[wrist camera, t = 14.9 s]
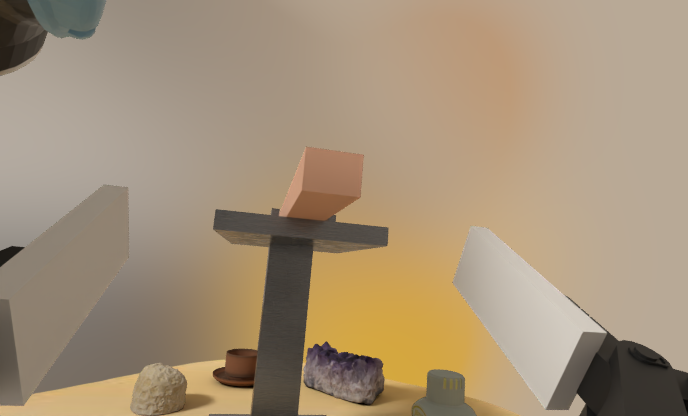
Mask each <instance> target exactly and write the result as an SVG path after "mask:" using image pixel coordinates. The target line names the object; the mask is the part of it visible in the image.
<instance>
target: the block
mask: <svg viewBox="0 0 688 416" xmlns="http://www.w3.org/2000/svg"><path fill="white" fill-rule="evenodd" d="M363 158H364V155H362V154H354V153H347V152H340V151H333V150H326V149H319V148H312V147H306V148H305V151H304V153H303V156H302V158H301V161H300V163H299V166H298V168H297V171H296V173H295V176H294V178H293V181H292V183H291V186H290V188H289V190H288V193H287V195H286V198H285V200H284V203H283V205H282V208H281V210H280V213H279V216H283V217H293V218H302V219H312V220H321V221H325V220H327V219H328V218H330V217H331V216H333V215H334V214H336V213H337V212H339V211H340V210H342V209H344V208H345V207H347V206H348V205H350V204H351V203H353V202H354V201H356V200H357V199H359V198H360V197H361V183H362V171H363Z"/></svg>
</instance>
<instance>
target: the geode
mask: <svg viewBox="0 0 688 416" xmlns="http://www.w3.org/2000/svg"><path fill="white" fill-rule="evenodd" d="M306 360H307V362H306V365H305V367H304V373H305V374H304V383H305V385H306V386H307V387H311V388H314V389H317V390H320V391H322V392H325V393H327V394H329V395H333V396H334V397H336V398H341V399H343V400H348V401H352V402H357V403H364V404H368V405H370V404H372V402H373V401H374V400H375V397H376V396H378V395H379V394H380V393H382V392H383V390H384V376H383V374H382V367H383V363H382V361H381V360H380V359H378V358H371V357H368V356H363V355H361V356H358V355H354V354H352V353H351V354H350V353H348V352H341V353H339V354H338V352H337V350H336V349H335V348H331V347H330V345H329V344H328V342H325V343H324V344H323V345H322V346H319V345H318V344H315V345H314V347H313V348H308V352H307V357H306Z"/></svg>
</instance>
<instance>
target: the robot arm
mask: <svg viewBox="0 0 688 416" xmlns="http://www.w3.org/2000/svg"><path fill="white" fill-rule="evenodd" d="M105 2H106V0H0V76H2V75H5V74H8V73H11V72H14V71H16V70H18V69H20V68H22V67H24V66H26V65H27V64H29V63H30V62H31V61H33V60H34V59H35V58H36V56H37V55H38V54H39V52H40V51H41V49H42V46H43V44H44V41H45V38H46V35H47V32H49V33H51V34H53V35H54V36H56V37H60V38H64V37H69V36H70V37H73V38H76V39H86V38H90V37H91V36H92V35H93V34H94V33H95V29H96V27H97V26H98V24H99V21H100V19H101V16H102V13H103V10H104V6H105ZM128 215H129V214H128V187H119V186H111V185H103V186H102V187H100V188H99V189H98V190H97V191H95V192H94V193H93V194H92V195H90V196H89V197H88V198H87V199H85V200H84V201H83V202H82V203H80V204H79V205H78V206H77V207H75V208H74V209H73V210H72V211H70V212H69V213H68V214H67V215H65V216H64V217H63V218H61V219H60V220H59V221H58V222H56V223H55V224H54V225H53V226H51V227H50V228H49V229H48V230H46V232H44V233H43V234H41V235H40V236H39V237H38V238H36V239H35V240H34V241H33V242H31V243H30V244H29V245H28V246H26V247H15V246H11V247H9V248H6V249H4V250H1V251H0V405H12V406H24V404H25V403H26V402H27V400H28V399H29V397H30V396H31V395H32V393H33V391H34V390H35V389H36V387H37V386H38V384H39V383H40V382H41V380H42V379H43V378H44V376H45V375H46V373H47V372H48V371H49V369H50V367H51V366H52V365H53V363H54V362H55V360H56V359H57V358H58V356H59V355H60V354H61V352H62V351H63V349H64V348H65V346H66V345H67V344H68V342H69V341H70V339H71V338H72V337H73V335H74V334H75V332H76V331H77V330H78V328H79V327H80V325H81V324H82V323H83V321H84V320H85V318H86V317H87V316H88V314H89V313H90V311H91V310H92V308H93V307H94V305H95V304H96V303H97V301H98V300H99V299H100V297H101V296H102V294H103V293H104V291H105V290H106V289H107V287H108V286H109V284H110V283H111V282H112V280H113V279H114V277H115V276H116V275H117V273H118V272H119V270H120V269H121V268H122V266H123V265H124V263H125V262H126V261H127V259H128V258H129V221H128V220H129V219H128V218H129V217H128ZM453 284H454V285H455V287H456V288H457V290H458V291H459V292H460V294H461V295H462V296H463V298H464V299H465V300H466V302H467V303H468V305H469V306H470V307H471V309H472V310H473V311H474V313H475V314H476V315H477V317H478V318H479V320H480V321H481V322H482V323H483V325H484V326H485V328H486V329H487V331H488V332H489V333H490V334H491V336H492V337H493V339H494V340H495V341H496V343H497V344H498V345H499V347H500V348H501V350H502V351H503V352H504V354H505V355H506V356H507V358H508V359H509V361H510V362H511V363H512V365H513V366H514V367H515V369H516V370H517V371H518V373H519V374H520V376H521V377H522V378H523V380H524V381H525V382H526V384H527V385H528V387H529V388H530V389H531V390H532V392H533V393H534V395H535V396H536V397H537V399H538V400H539V402H540V403H541V404H542V406H543V407H544V408H545V409H546V410H569V408H570V406H571V404H572V402H573V400H574V398H575V396H576V394H578V395H579V396H580V397H581V398H582V399H583V401H584V402H585V403H586V404H585V407H584V408H583V410H582V412H581V414H580V416H688V373H686V372H683V371H679V370H675V369H673V368H672V367H671V365H670V363H669V362H668V361H667V360H666V359H664V358H663V357H662V356H661V355H659V354H658V353H656V352H655V351H653V350H651V349H649V348H647V347H645V346H643V345H641V344H638V343H635V342H632V341H625V340H623V341H618V340H617V339H616V338H615V337H614V336H612V335H611V334H610V333H609V332H608V331H607V330H605V329H604V328H603V327H602V326H601V325H600V324H599V323H597V322H596V321H595V320H594V319H593V318H592V317H589V315H588V314H587V313H586V312H585V311H584V310H582V309H580V307H579V306H578V305H577V304H576V303H574V302H573V301H572V300H571V299H570V298H569V297H567V296H565V295H564V294H562V293H561V292H560V291H559V290H558V289H556V288H555V287H554V286H553V285H552V284H551V283H550V282H548V281H547V280H546V279H545V278H544V277H543V276H542V275H541V274H539V273H538V272H537V271H536V270H535V269H534V268H532V267H531V266H530V265H529V264H528V263H527V262H526V261H525V260H523V259H522V258H521V257H520V256H519V255H518V254H517V253H515V252H514V251H513V250H512V249H510V247H509V246H507V245H506V244H505V243H504V242H503V241H502V240H501V239H499V238H498V237H497V236H496V235H495V234H494V233H493V232H491V231H490V230H489V229H488V228H484V227H475V226H471V227H470V231H469V233H468V236H467V239H466V243H465V246H464V249H463V252H462V255H461V258H460V261H459V264H458V267H457V271H456V274H455V277H454V280H453Z"/></svg>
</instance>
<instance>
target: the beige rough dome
mask: <svg viewBox="0 0 688 416" xmlns="http://www.w3.org/2000/svg"><path fill="white" fill-rule="evenodd" d="M186 388H187V380H186V379H185V376H184V375H183V374H182V373H181V372H180V371H178V369H173V368H172V367H170V366H164V365H163V364H162V363H156V364H153V365H149V366H146V367H145V368H144V369H143V370H142V371H141V373H140V374H139V377H138V379H137V382H136V383H135V387H134V391H133V395H132V396H133V398H132V403H131V406H130V408H131V410H132V411H133V412H134V413H135V414H138V415H148V416H151V415H161V414H168V413H172V412H175V411H179V410H180V409H183V406H184V403H185V395H186V394H185V392H186Z"/></svg>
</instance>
